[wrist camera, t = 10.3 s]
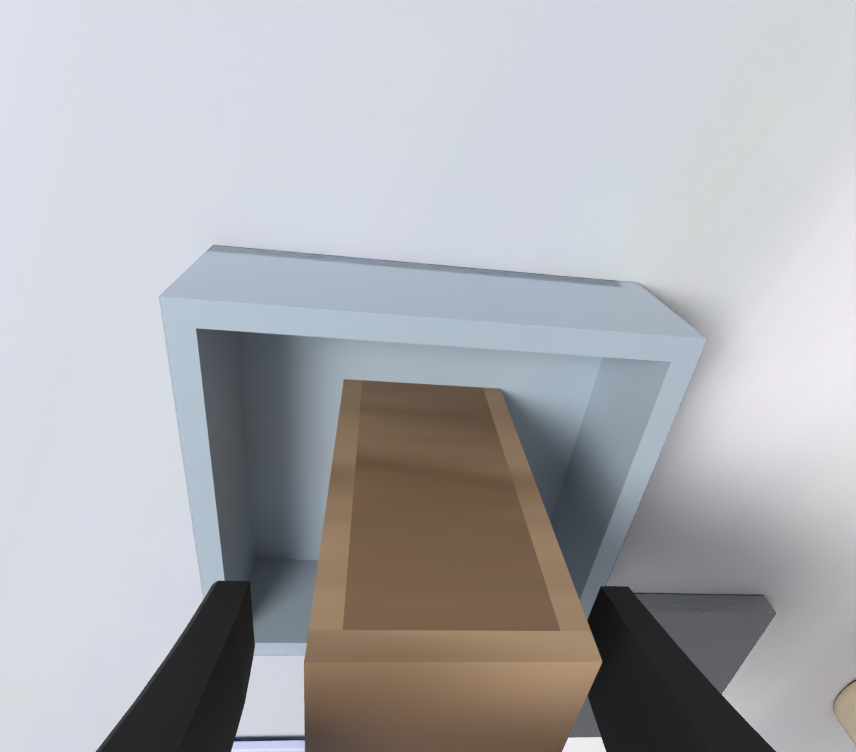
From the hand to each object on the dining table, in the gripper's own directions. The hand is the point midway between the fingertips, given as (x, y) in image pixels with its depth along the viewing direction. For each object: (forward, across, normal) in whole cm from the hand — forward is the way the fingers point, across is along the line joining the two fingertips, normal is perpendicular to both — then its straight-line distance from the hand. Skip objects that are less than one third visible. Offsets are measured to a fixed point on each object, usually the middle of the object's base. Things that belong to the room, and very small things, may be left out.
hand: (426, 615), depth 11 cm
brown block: (+6, 0, 0) cm, 6 cm away
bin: (+6, 0, 0) cm, 6 cm away
